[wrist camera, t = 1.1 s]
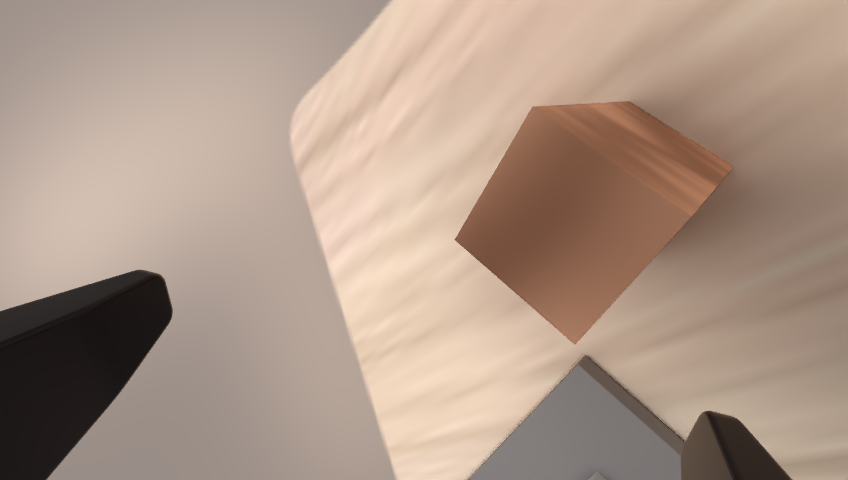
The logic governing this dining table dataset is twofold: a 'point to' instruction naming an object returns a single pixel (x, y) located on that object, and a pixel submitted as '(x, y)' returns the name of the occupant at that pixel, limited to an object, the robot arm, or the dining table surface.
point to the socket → (587, 436)
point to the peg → (586, 206)
